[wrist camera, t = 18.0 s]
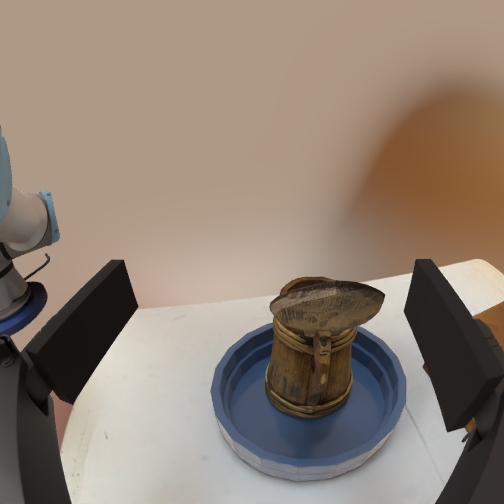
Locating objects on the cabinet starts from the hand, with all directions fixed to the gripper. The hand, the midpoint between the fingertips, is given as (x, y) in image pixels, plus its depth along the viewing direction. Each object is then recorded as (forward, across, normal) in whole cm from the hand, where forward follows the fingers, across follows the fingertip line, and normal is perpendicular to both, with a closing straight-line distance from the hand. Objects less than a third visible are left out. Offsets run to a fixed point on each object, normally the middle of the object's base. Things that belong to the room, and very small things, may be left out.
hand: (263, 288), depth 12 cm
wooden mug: (+6, +3, -18) cm, 19 cm away
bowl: (+6, +3, -18) cm, 19 cm away
